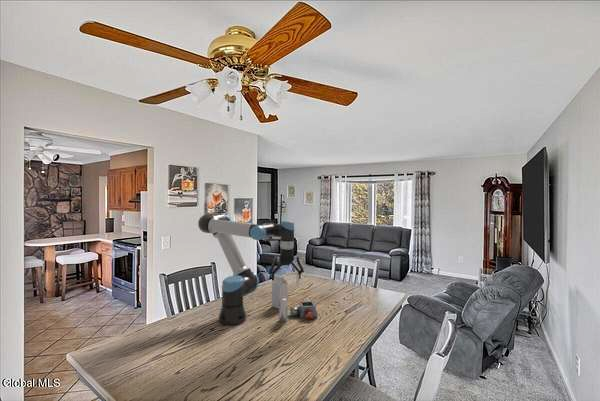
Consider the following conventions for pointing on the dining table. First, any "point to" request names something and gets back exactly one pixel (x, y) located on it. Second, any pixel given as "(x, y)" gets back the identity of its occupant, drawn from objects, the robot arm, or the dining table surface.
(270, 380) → the dining table surface
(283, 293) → the milk carton
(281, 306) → the silver rounded cylinder
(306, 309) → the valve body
